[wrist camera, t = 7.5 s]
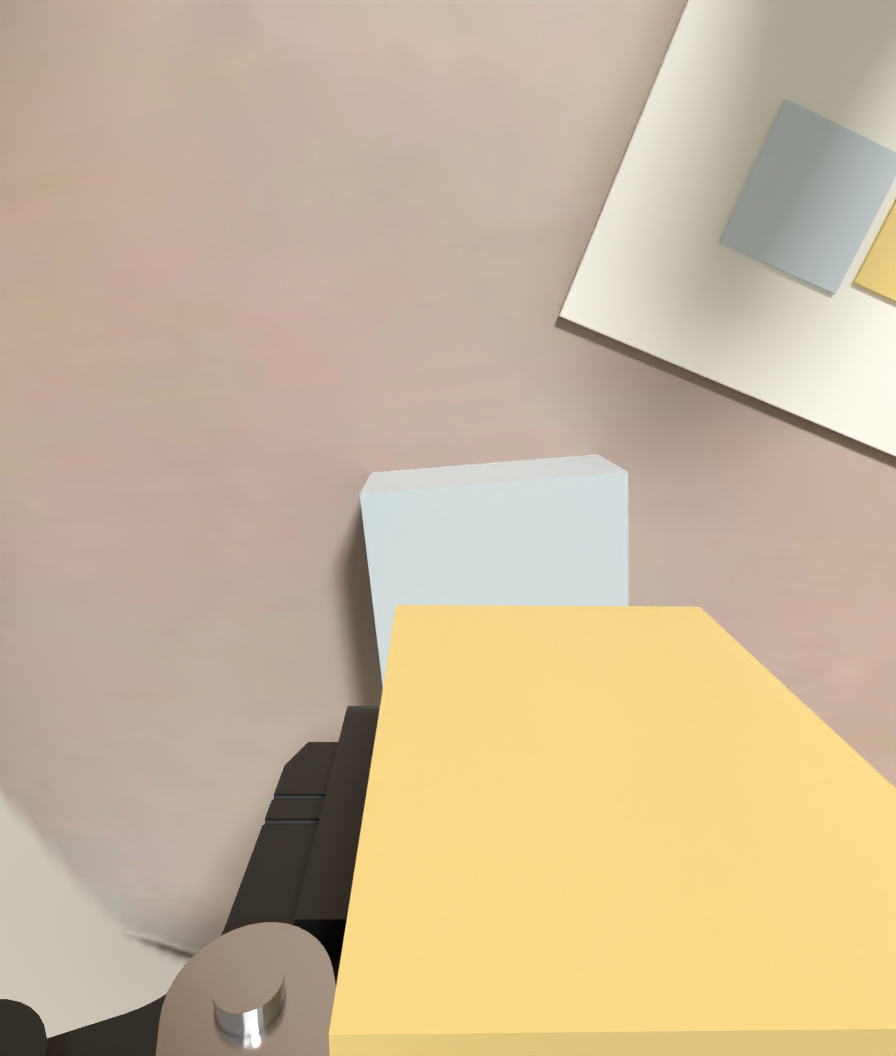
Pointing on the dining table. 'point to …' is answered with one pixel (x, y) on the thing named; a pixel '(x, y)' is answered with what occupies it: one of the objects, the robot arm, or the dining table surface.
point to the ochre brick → (611, 849)
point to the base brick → (496, 536)
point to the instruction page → (762, 212)
